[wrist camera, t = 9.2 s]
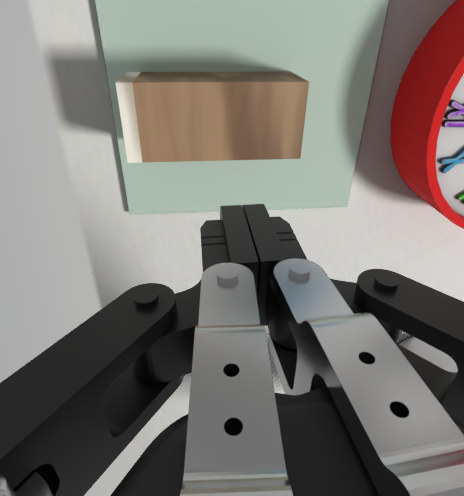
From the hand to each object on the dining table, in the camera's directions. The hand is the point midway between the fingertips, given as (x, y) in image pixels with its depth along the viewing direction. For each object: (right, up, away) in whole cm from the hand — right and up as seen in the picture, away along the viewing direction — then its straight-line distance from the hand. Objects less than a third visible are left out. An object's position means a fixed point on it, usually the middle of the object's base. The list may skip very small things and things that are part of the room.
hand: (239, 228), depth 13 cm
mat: (+1, +11, +16) cm, 19 cm away
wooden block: (+4, +9, +14) cm, 17 cm away
